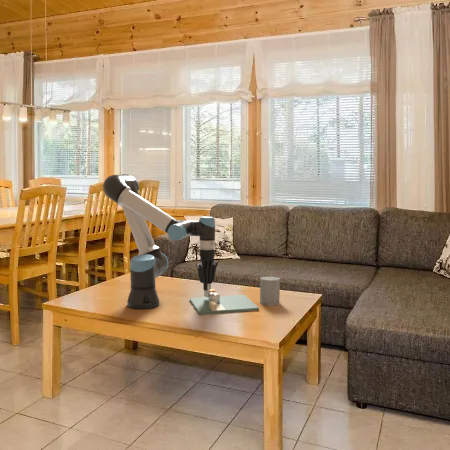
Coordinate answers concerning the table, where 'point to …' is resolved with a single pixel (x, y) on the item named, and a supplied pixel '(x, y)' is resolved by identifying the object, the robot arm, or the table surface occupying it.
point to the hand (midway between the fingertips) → (206, 296)
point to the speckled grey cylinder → (269, 290)
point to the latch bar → (214, 296)
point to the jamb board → (223, 304)
